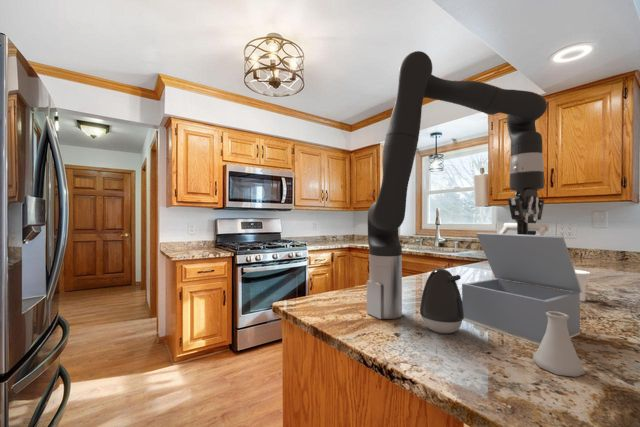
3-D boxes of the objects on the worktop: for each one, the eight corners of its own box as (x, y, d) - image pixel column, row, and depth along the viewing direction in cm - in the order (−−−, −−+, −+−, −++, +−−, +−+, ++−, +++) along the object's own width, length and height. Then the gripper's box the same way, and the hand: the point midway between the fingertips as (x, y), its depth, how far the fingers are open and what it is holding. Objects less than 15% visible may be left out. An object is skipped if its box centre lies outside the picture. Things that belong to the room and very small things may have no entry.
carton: (547, 347, 63) (546, 301, 63) (462, 320, 80) (462, 284, 81) (580, 333, 71) (579, 293, 71) (496, 311, 88) (495, 278, 88)
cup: (587, 298, 103) (586, 269, 104) (594, 304, 96) (593, 273, 96) (555, 294, 108) (554, 267, 108) (559, 300, 100) (558, 270, 101)
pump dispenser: (445, 341, 66) (444, 273, 67) (411, 326, 76) (410, 267, 76) (474, 333, 71) (473, 270, 71) (438, 320, 80) (438, 264, 81)
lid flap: (562, 237, 67) (572, 221, 69) (476, 233, 84) (487, 220, 87) (580, 292, 71) (590, 275, 74) (495, 278, 89) (505, 264, 91)
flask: (524, 359, 58) (523, 308, 58) (558, 357, 59) (558, 307, 59) (556, 379, 51) (556, 320, 51) (595, 377, 51) (594, 319, 52)
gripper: (527, 167, 72) (528, 237, 72) (555, 172, 79) (556, 236, 79) (496, 171, 79) (497, 236, 78) (524, 176, 86) (525, 235, 85)
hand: (526, 235), depth 78 cm, fingers open, 3 cm apart
